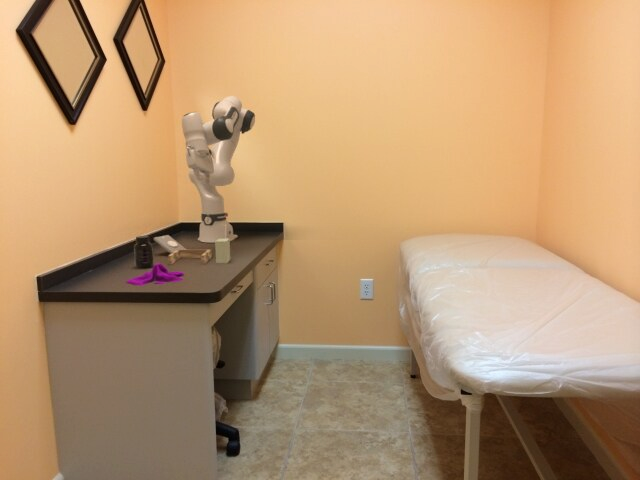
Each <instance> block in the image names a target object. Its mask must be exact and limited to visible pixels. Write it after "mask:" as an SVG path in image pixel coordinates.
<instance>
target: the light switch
mask: <svg viewBox="0 0 640 480" xmlns="http://www.w3.org/2000/svg"><path fill="white" fill-rule="evenodd" d="M153 241H154V242H156V243H157V244H158V245H159V246H161V247H162V248H163V249H164V250H165V251H167V252H168V253H169V254H172V253H173V252H175V251H176V250H187V248H185V247H184V246H183V245H181V243H179V242H178V241H177V240H175V239H174V238H173V237H171V236H170V235H169V234H166V235H162V236H155V237H153Z"/></svg>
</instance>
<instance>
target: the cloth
mask: <svg viewBox="0 0 640 480" xmlns="http://www.w3.org/2000/svg"><path fill="white" fill-rule="evenodd" d="M184 276H185V273H184V272H182V271H169V269H168V268H167V267H165V266H164V265H163V264H162V263H161V262H157V263H154V265H153V266H152V269H151V270H150V271H146V272H145V273H143V274H142V275H139V276H136V277H132V278H130V279H128V280H127V281H125V283H126V284H130V285H136V286H145V285H146V284H149V283H153V282H155V283H154V285H164V284H165V283H172V282H179V281H184V278H183V277H184Z"/></svg>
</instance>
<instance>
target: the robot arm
mask: <svg viewBox="0 0 640 480" xmlns="http://www.w3.org/2000/svg"><path fill="white" fill-rule="evenodd" d="M211 117H212V120H210V121H207V122H205V121H203V120H202V117H201V114H200V112H199V111H192V112H191V111H190V112H188V113H185V114H184V115H182V118H181V127H182V133H183V137H184V139H185V149H186V152H185V156H186V164H187V167H188V168H189V171H188V178H189V180H190V182H191V183H192V184H193V185H194V186H195V187H196V189H197V191H198V193H199V197H200V202H201V216H200V218H201V222H200V224H199V237H198V238H197V241H199V242H202V243H215V241H216V240H217V239H229V241H230V242H233V241H234V240H235V239H236V238H238V235H237V234H234V229H233V226H232V225H231V224H230V223H229V221H228V220H227V217H228V216H229V212H225V199H224V197H223V196H222V194H220V193H219V192H218V189H217V187H223V186H224V187H225V186H227V185H231V184H232V183H233V181H234V179H235V170H234V167H232V166H231V165H232V164H231V163H232V158H233V157H234V153H235V151H236V149H237V147H238V143H239V140H240V137H241V136H240V135H241V134H242V135H244V134H245V133H247V132H249V131H250V130H252V128H253V127H254V125H255V123H256V115H255V112H253V111H251V110H250V109H246V108H244V107H243V103H242V101H241V99H240V98H239V97H237V96H235V95H228V96H226V97H224V98H222V99H221V100H219V101H217V102H215V104H214V105H213V108H212V113H211ZM210 146H212V147H211V149H210Z"/></svg>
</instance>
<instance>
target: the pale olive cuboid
mask: <svg viewBox="0 0 640 480" xmlns="http://www.w3.org/2000/svg"><path fill="white" fill-rule="evenodd" d="M230 242H231V241H229V239H217V240H216V241H215V242H214V248H215V264H228V263H229V262H230V261H231V246H230V245H231V244H230Z"/></svg>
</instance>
